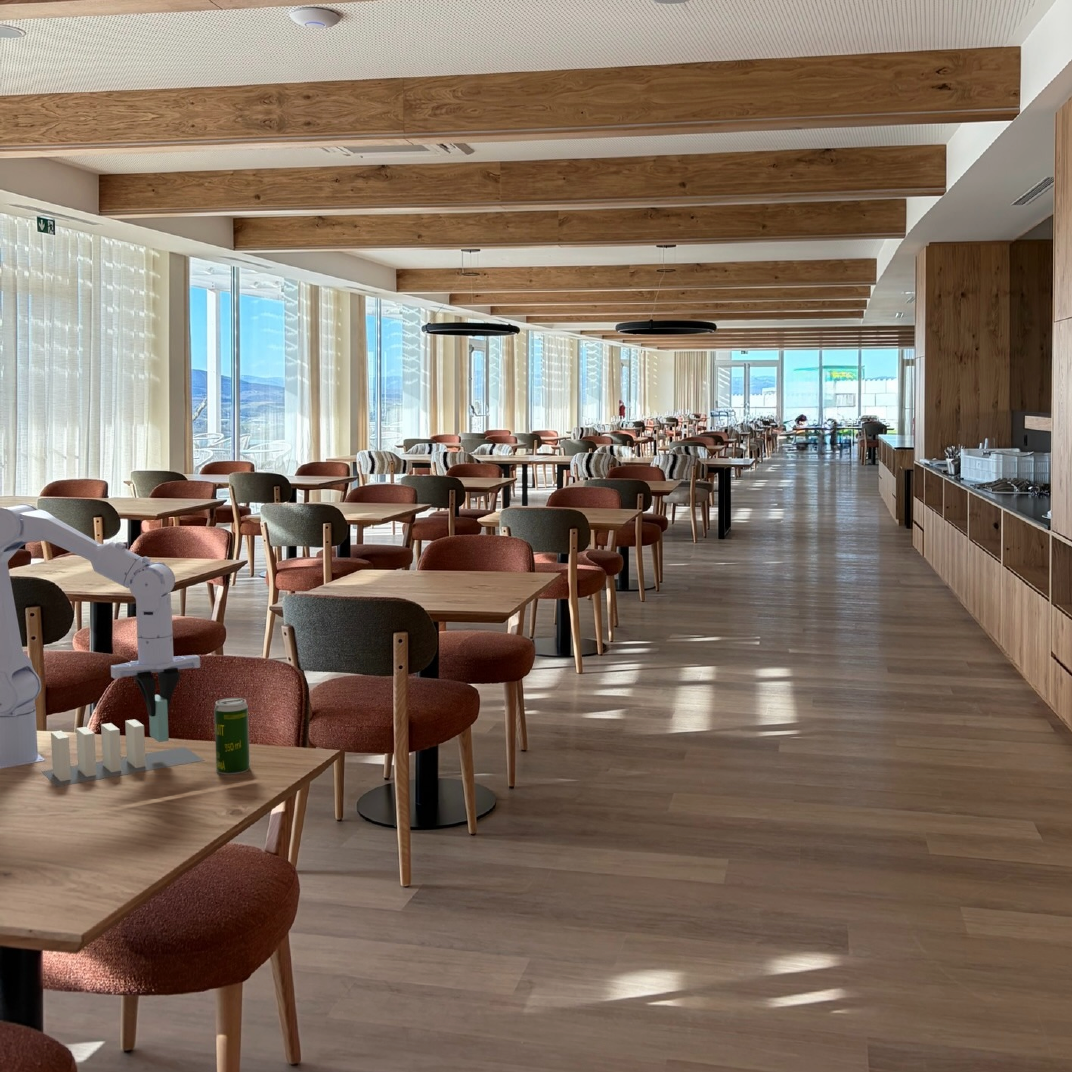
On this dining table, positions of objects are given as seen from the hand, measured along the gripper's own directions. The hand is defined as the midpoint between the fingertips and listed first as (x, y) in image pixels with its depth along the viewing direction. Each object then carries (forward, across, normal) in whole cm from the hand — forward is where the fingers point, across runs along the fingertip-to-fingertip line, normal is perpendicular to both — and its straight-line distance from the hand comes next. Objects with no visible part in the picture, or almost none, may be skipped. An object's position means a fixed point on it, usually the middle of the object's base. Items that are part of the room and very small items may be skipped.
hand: (158, 714), depth 200 cm
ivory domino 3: (+8, -8, 0) cm, 11 cm away
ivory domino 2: (+8, -12, 0) cm, 14 cm away
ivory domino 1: (+8, -16, 0) cm, 18 cm away
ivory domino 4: (+8, -4, 0) cm, 9 cm away
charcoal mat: (+8, -6, 0) cm, 10 cm away
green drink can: (+9, +8, -13) cm, 18 cm away
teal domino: (+4, 0, 0) cm, 4 cm away
